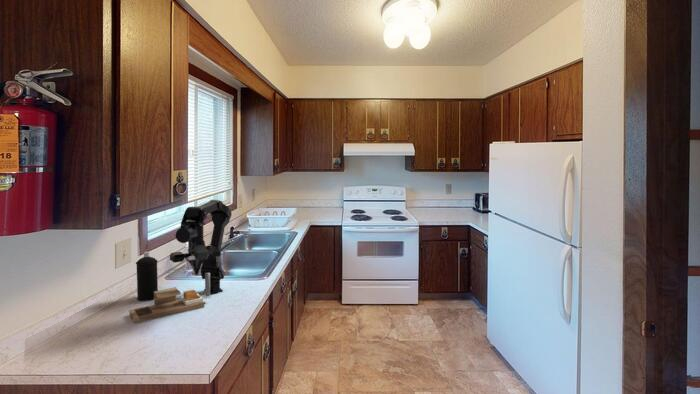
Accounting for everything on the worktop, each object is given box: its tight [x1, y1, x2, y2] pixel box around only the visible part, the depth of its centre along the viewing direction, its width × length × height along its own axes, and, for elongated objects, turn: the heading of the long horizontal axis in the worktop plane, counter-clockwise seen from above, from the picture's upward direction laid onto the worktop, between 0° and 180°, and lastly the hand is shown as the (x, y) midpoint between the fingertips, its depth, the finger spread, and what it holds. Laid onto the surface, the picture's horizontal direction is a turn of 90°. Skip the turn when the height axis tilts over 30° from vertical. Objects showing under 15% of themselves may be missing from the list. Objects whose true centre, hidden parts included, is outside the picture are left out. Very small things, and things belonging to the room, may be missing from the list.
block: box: [183, 289, 198, 301], centre depth 149 cm, size 4×4×4 cm
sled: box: [180, 273, 212, 305], centre depth 150 cm, size 7×11×10 cm, turn 131°
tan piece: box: [128, 286, 205, 325], centre depth 143 cm, size 10×25×8 cm, turn 131°
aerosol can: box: [135, 251, 159, 302], centre depth 155 cm, size 8×8×20 cm
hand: (196, 274), depth 149 cm, fingers closed
